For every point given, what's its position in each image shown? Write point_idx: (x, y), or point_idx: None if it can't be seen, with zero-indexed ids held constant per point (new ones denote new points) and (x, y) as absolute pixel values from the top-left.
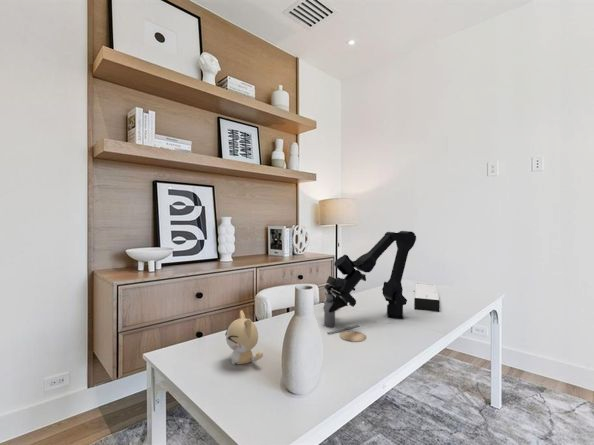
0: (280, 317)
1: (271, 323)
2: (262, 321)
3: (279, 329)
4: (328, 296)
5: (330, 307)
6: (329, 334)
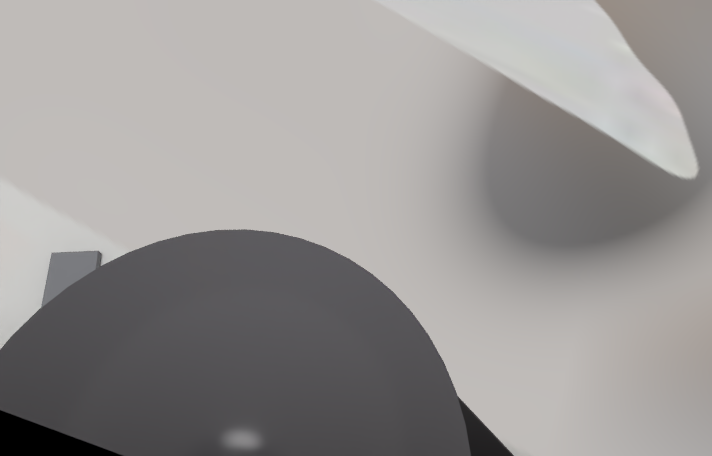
0: (651, 125)
1: (536, 25)
2: (590, 4)
3: (405, 10)
4: (146, 284)
5: None
6: (61, 256)
